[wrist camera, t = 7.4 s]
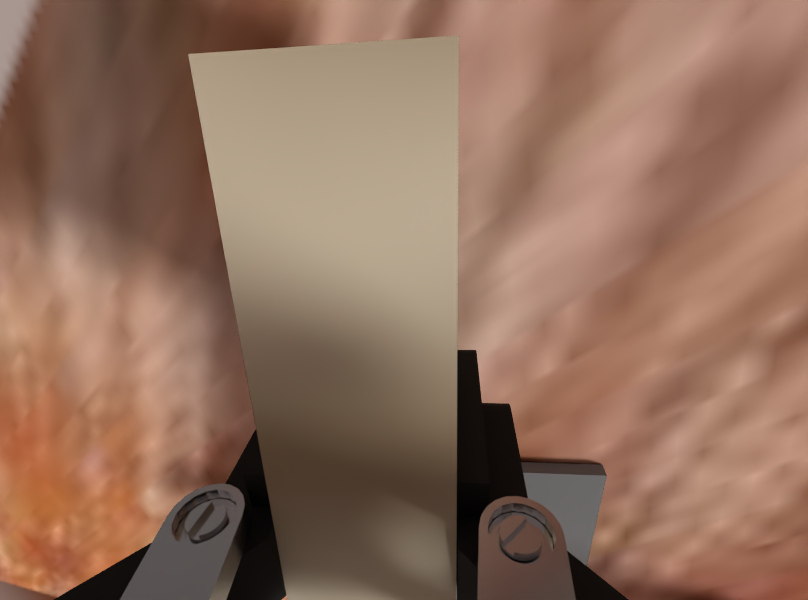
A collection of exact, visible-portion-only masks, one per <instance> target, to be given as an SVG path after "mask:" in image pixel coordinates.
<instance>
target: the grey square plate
mask: <svg viewBox="0 0 808 600" xmlns="http://www.w3.org/2000/svg"><path fill="white" fill-rule="evenodd" d="M521 464H522V470H523V475H524V480H525V485H526V490H527V496H528V499H532V500H534V501H536V502H538V503H540V504H541V505H543V506H544V507H545V508H547V509H548V510H549V511H550V512H551V513H553V515H554V516H555V518H556V519H557V520H558V522H559V523H560V525H561V527H562V530H563V533H564V536H565V541H566V547H567V551H568V552H570V553H571V554H572V555H573V556H575V557H576V558H577V559H578V560H579V561H581V562H582V563H583V564H584V565H587V561H588V556H589V552H590V547H591V543H592V539H593V534H594V530H595V525H596V521H597V516H598V512H599V507H600V503H601V499H602V494H603V490H604V485H605V481H606V476H607V475H606V473H605V470H604V468H603V465H594V464H565V463H535V462H521Z"/></svg>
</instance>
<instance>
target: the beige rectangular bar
mask: <svg viewBox="0 0 808 600" xmlns="http://www.w3.org/2000/svg"><path fill="white" fill-rule="evenodd" d="M188 56H189V62H190V67H191V73H192V78H193V84H194V89H195V95H196V100H197V106H198V111H199V117H200V122H201V128H202V133H203V139H204V144H205V150H206V155H207V161H208V166H209V172H210V177H211V183H212V188H213V194H214V199H215V205H216V210H217V216H218V221H219V227H220V232H221V238H222V243H223V249H224V254H225V260H226V265H227V271H228V276H229V282H230V287H231V293H232V298H233V304H234V309H235V315H236V321H237V326H238V332H239V337H240V343H241V348H242V354H243V359H244V365H245V370H246V376H247V381H248V387H249V392H250V398H251V403H252V409H253V414H254V420H255V425H256V431H257V436H258V442H259V447H260V453H261V458H262V464H263V469H264V475H265V480H266V486H267V491H268V497H269V502H270V508H271V513H272V519H273V524H274V530H275V535H276V541H277V546H278V552H279V557H280V563H281V568H282V574H283V579H284V585H285V590H286V596H287V600H457V586H456V544H457V311H458V78H459V36H446V37H431V38H416V39H402V40H387V41H372V42H358V43H343V44H328V45H314V46H299V47H284V48H270V49H255V50H240V51H226V52H211V53H196V54H188Z"/></svg>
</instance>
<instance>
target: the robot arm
mask: <svg viewBox="0 0 808 600" xmlns="http://www.w3.org/2000/svg"><path fill="white" fill-rule="evenodd" d="M456 586H457V600H628V599H627V598H626V597H624V596H623V595H622V594H621V593H619V592H618V591H617V590H616V589H614V588H613V587H612V586H611V585H609V584H608V583H607V582H606V581H604V580H603V579H602V578H601V577H599V576H598V575H597V574H596V573H594V572H593V571H592V570H591V569H589V568H588V567H587V566H586V565H584V564H583V563H582V562H581V561H579V560H578V559H577V558H576V557H575V556H573V555H572V554H571V553H570V552H568V551H567V547H566V541H565V536H564V533H563V530H562V527H561V525H560V523H559V522H558V520H557V519H556V518H555V516H554V515H553V513H551V512H550V511H549V510H548V509H547V508H545V507H544V506H543V505H541V504H540V503H538V502H536V501H534V500H532V499H528V496H527V490H526V485H525V480H524V475H523V470H522V464H521V459H520V454H519V449H518V444H517V438H516V433H515V428H514V423H513V417H512V412H511V408H510V405H509V404H497V403H482V401H481V391H480V382H479V372H478V363H477V353H476V350H457V544H456ZM285 596H286V590H285V585H284V579H283V574H282V568H281V563H280V557H279V552H278V546H277V541H276V535H275V530H274V524H273V519H272V513H271V508H270V502H269V497H268V491H267V486H266V480H265V475H264V469H263V464H262V458H261V453H260V447H259V442H258V436H257V431H256V430H255V432H254V433H253V435H252V437H251V439H250V441H249V442H248V444H247V446H246V448H245V450H244V451H243V453H242V455H241V457H240V459H239V460H238V462H237V464H236V466H235V468H234V470H233V471H232V473H231V475H230V477H229V479H228V480H227V482H226V484H221V483H220V484H213V485H208V486H205V487H202V488H200V489H197V490H195V491H193V492H192V493H190V494H188V495H187V496H185V497H184V498H183V499H182V500H181V501H180V502H178V503H177V504H176V505H175V506H174V508H173V509H172V510H171V512H170V513H169V514H168V516H167V517H166V519H165V521H164V523H163V524H162V526H161V528H160V530H159V531H158V533H157V535H156V537H155V538H154V540H153V542H152V543H150V544H149V545H147V546H145V547H144V548H142V549H140V550H138V551H137V552H135V553H133V554H131V555H130V556H128V557H126V558H125V559H123V560H121V561H119V562H118V563H116V564H114V565H113V566H111V567H109V568H107V569H106V570H104V571H102V572H101V573H99V574H97V575H95V576H94V577H92V578H90V579H89V580H87V581H85V582H83V583H82V584H80V585H78V586H77V587H75V588H73V589H71V590H70V591H68V592H66V593H64V594H63V595H61V596H59V597H58V598H56V599H54V600H281V599H282V598H284V597H285Z"/></svg>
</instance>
